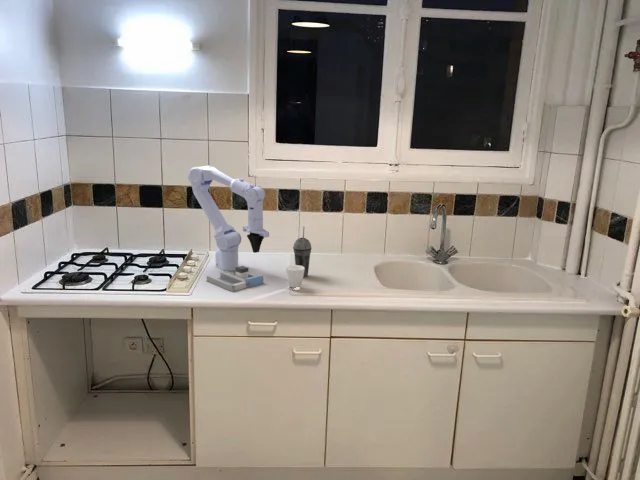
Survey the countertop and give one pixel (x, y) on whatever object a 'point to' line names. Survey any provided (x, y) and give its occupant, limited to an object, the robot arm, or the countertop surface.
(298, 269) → the cup
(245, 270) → the grey rectangular block
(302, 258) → the beverage cup
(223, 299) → the countertop surface
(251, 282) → the grey tray
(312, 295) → the countertop surface
